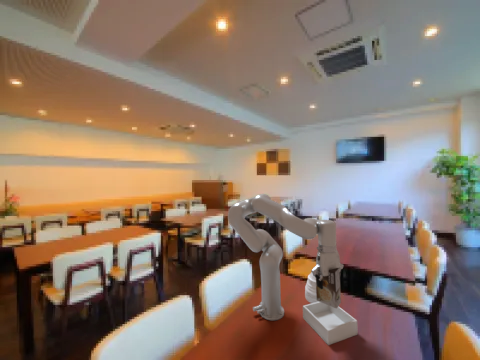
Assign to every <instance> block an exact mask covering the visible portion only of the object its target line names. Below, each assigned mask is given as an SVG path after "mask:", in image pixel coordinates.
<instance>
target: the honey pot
mask: <svg viewBox="0 0 480 360" xmlns="http://www.w3.org/2000/svg"><path fill="white" fill-rule="evenodd" d="M313 268H315V266H314V267H312V269H313ZM304 290H305V291H304V297H305V300H306V301H307V302H309V304H311V303H315V302H318V301H317V298H316V278H315V276H313V274H312V272H310V273H309V274H308V276H307V280H306V284H305V287H304Z"/></svg>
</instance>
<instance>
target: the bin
mask: <svg viewBox="0 0 480 360" xmlns="http://www.w3.org/2000/svg"><path fill="white" fill-rule="evenodd" d="M302 318H303V320H305V322H306V323H307V324H308V325H309V326H310V327H311V328H312V330H313V331H314V332H315V333H316V334H317V335H318V336H319V337H320V338H321V339H322V340H323V342H325V344H326V345H327V346H331V345H334V344H335V343H338V342H341V341H344V340H347V339H349V338H352V337H354V336H357V335H358V333H359V332H358V331H359V330H358V329H359V327H358V320H357V319H356V318H354V317H353V316H352V315H350V313H348V312H347V311H345V310H344V309H343V308H341V307H340V305H339V306H338V308H337V309H336V308H334V307H331V306H329V305H326V304H324V303H322V302H319V301H318V302H315V303H309V304H305V305H302Z"/></svg>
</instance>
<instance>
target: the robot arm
mask: <svg viewBox="0 0 480 360" xmlns="http://www.w3.org/2000/svg"><path fill="white" fill-rule="evenodd" d="M255 213H259V214H260V215H263V216H265V217H267V218H270V219H271V220H273V221H275V222H277V223H278V224H279V225H280V226H282V227H283V229H286V230H287V231H288V232H290V233H291V234H293V235H295V236H297V237H300V238H302V239H305V240H313V239H314V238H315V237H316V236H317V243H318V246H317V247H316V249H317V252H316V258H315V260H316V261H315V266H316V267H315V266H314V267H315V268H313V267H312V269H311V272H312V274H313V276H315V278H317V287H319V288H320V289H323V281H322V278H323V276H328V275H329V270H331V269H335V268H339V272H340V276H341V274H342V272H343V268H344V264H343V263H341V260H340V259H341V257H340V254H339V251H338V250H337V223H336V222H335V221H333V220H331V219H318V218H317V219H316V218H312V217H311V218H310V217H307V218H306V217H305V219H302V218H300V217H298V216H295V214H293V213H292V212H290V210H289V209H288V208H287V207H286V206H285V205H283V204H281V203H279V202H276V201H275V200H272V199H271V197H270V196H269V195H268V194H265V193H261V194H257V195H256V196H253V197H250V198H246V199H244V200H242V201H238V202H236V203H233V204H232V205H231V206H230V208H229V209H228V213H227V220H228V223H229V224H230V227H231V228H232V229H233V231H235V232H236V233H237V235H238V236H239V237H240V238H241V240H242V241H243V243H245V244H246V246H247V247H248V248H249V249H250V250H251V251H252V252H254V253H259V252H261V251H262V253H261V256H260V258H259V269H260V282H261V284H260V286H261V301H260V302H259V304H258V305H256V306H252V311H253V312H257V314H259V315H260V316H261V318H263V319H265V320H268V321H279V320H281V319H282V318H283V317H284V316H285V309H284V307H283V306H282V299H281V297H282V296H281V273H280V263H281V262H282V259H283V256H284V252H283V249H282V248H281V246H280V245H279V244H278V242H277V241H276V240H275V239H274V238H273V237H272V236H271V234H270V232H268V231H267V230H264V229H263V228H262V229H261V228H258V229H255V227H254V226H253V225H252V223H251V222H249V221H248V220H246V219H245V218H246V217H248V216H249V215H251V214H255ZM319 269H320V272H319V271H318V270H319ZM311 272H310V273H311ZM316 272H317V274H316ZM319 273H320V274H321V275H320V277H319Z"/></svg>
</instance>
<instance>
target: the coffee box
mask: <svg viewBox="0 0 480 360" xmlns="http://www.w3.org/2000/svg"><path fill="white" fill-rule="evenodd" d="M314 267H316V265H315V266H314ZM318 271H319V272H320V269H319V270H318ZM316 274H317V272H316ZM340 274H341V273H340V272H339V268H335V269H331V270H329V275H328V276H323V278H322V281H323V289H320V288H319V287H317V278H316V298H317V301H319V302H322V303H324V304H326V305H329V306H331V307H334V308H336V309H337V308H338V306H339V307H340V305H341V303H342V297H341V295H342V294H341V275H340ZM320 275H321V274H320V273H319V277H320Z"/></svg>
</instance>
